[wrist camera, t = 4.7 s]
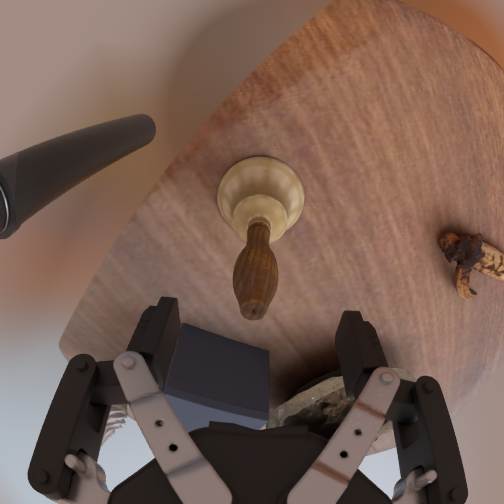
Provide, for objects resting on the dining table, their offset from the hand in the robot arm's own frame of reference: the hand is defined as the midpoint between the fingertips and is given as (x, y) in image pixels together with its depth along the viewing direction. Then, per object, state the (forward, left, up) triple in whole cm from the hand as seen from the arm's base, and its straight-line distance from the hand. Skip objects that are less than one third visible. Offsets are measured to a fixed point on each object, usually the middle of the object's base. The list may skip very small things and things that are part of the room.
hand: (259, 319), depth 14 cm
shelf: (+4, -27, -16) cm, 32 cm away
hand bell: (0, 0, -17) cm, 17 cm away
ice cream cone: (-8, -35, -17) cm, 40 cm away
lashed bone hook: (+29, +5, -17) cm, 34 cm away
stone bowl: (+25, -23, -17) cm, 38 cm away
